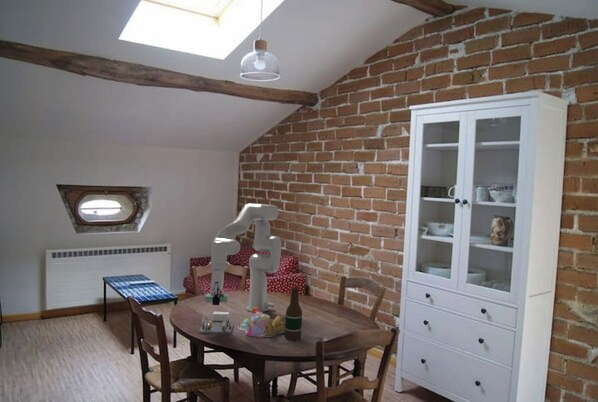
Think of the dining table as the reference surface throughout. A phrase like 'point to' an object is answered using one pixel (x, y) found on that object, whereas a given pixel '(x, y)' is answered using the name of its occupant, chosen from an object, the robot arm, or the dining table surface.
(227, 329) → the chassis
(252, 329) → the pastel sphere sculpture
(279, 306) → the dining table surface
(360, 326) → the dining table surface
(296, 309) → the beer bottle
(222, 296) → the board
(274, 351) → the dining table surface
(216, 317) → the white rectangular block
